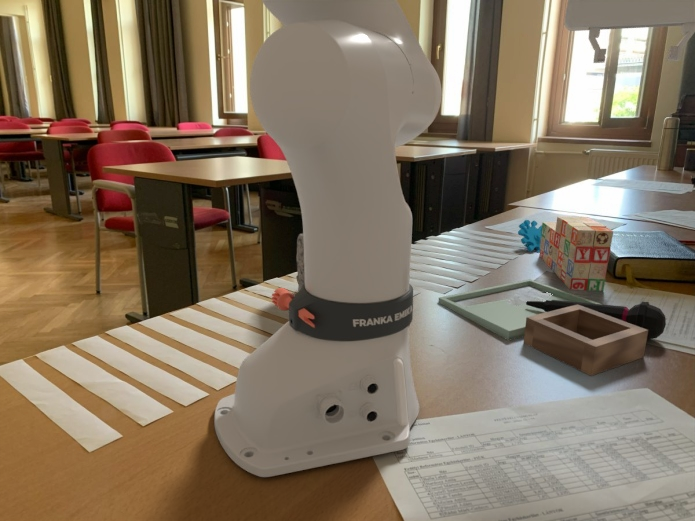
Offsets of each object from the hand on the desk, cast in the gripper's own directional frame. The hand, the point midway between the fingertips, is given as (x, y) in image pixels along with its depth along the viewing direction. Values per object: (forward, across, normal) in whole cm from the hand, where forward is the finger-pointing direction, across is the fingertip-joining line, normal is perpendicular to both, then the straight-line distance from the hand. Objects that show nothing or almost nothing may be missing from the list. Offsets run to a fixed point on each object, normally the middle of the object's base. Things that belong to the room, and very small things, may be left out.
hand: (635, 61), depth 74 cm
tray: (+39, +12, +2) cm, 41 cm away
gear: (+40, +10, -37) cm, 56 cm away
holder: (+39, +2, +15) cm, 42 cm away
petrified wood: (+39, +40, +9) cm, 57 cm away
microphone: (+38, +11, +2) cm, 39 cm away
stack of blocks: (+40, +5, -22) cm, 45 cm away
